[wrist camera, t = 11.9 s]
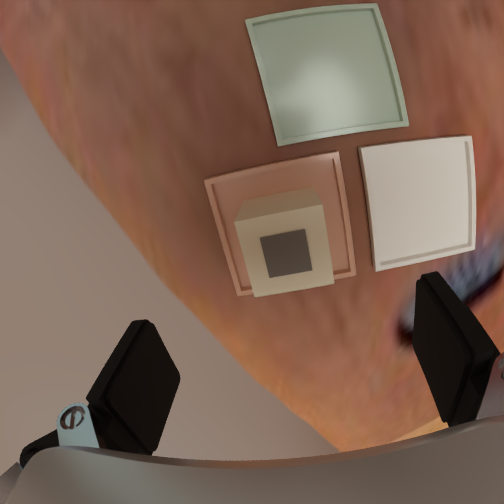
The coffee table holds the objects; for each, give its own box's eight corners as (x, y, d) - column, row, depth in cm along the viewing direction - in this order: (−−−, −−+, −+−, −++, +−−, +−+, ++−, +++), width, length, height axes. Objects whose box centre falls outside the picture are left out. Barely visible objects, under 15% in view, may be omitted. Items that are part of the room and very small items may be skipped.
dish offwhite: (357, 147, 20) (360, 148, 19) (465, 134, 19) (471, 135, 18) (372, 265, 24) (375, 271, 23) (469, 245, 22) (474, 249, 21)
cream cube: (244, 200, 22) (233, 222, 17) (313, 186, 21) (322, 204, 17) (260, 263, 24) (254, 299, 19) (324, 252, 23) (334, 285, 18)
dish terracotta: (207, 177, 22) (203, 180, 21) (336, 150, 20) (338, 151, 20) (239, 289, 26) (237, 296, 25) (353, 269, 24) (356, 275, 23)
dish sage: (246, 23, 17) (244, 19, 16) (373, 7, 16) (376, 3, 15) (278, 145, 21) (278, 146, 20) (404, 125, 19) (409, 125, 18)
